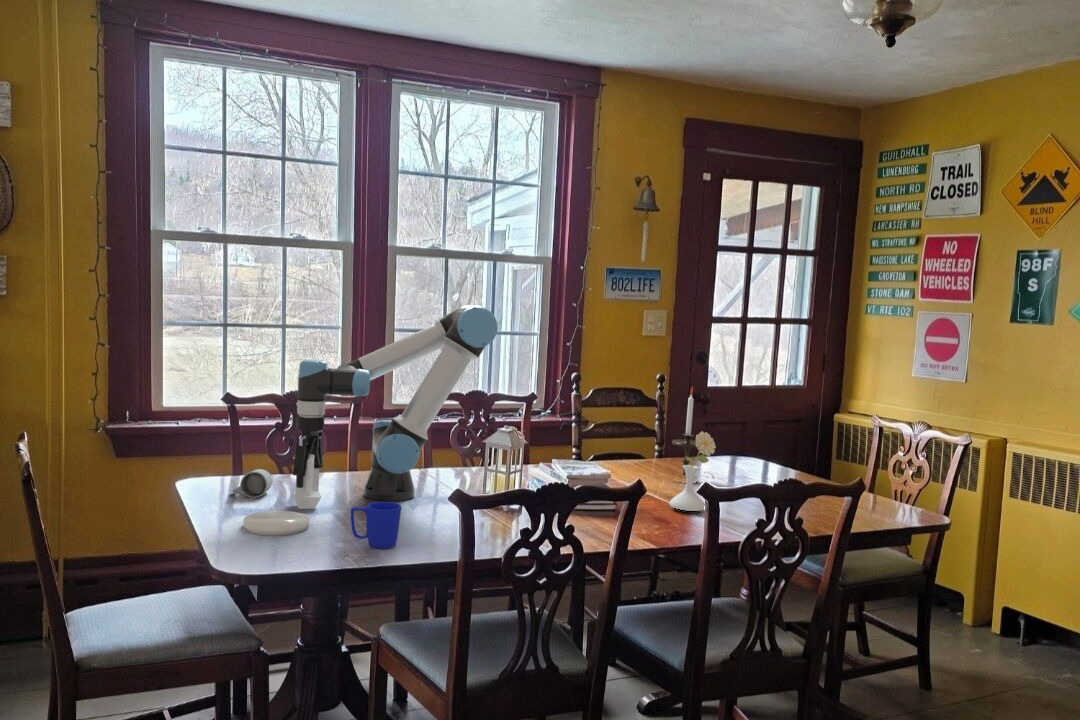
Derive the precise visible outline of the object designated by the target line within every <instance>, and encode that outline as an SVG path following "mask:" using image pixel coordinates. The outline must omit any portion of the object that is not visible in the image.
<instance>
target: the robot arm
mask: <svg viewBox="0 0 1080 720" xmlns="http://www.w3.org/2000/svg"><path fill="white" fill-rule="evenodd" d="M497 334H498V321H497V319H496V316H495V314H493V311H490V309H488V308H486V307H484V306H482V305H479V304H478V305H477V304H476V305H475V304H466V305H461V306H459V307H458V308H456V309H454V310H453V311H450V313H447V314H446V315H444V316H442V317H440V318H437V319H436V321H435V322H434V324H432V325H430V326H428V327H426V328H424V329H422V330H419V331H417V332H414V333H412V334H410V335H408V336H406V337H403V338H401V339H399V340H397V341H394V342H392V343H390V344H388V345H386V346H383V347H381V348H377V349H376V350H374V351H373V352H370V353H367V354H365V355H364V356H361V357H359V358H357V359H355V360H352V361H349V362H347V363H341V364H340V365H338V366H337V368H333V367H331V368H330V367H329V366H328V363H327V361H325V360H321V359H304V360H301V361H300V363H299V367H298V377H297V378H298V379H297V380H298V381H297V402H296V403H295V405H296V407H297V408H296V411H297V412H296V413H297V414H298V415H297V416H296V423H295V425H296V426H295V428H296V430H299V431H301V436H300V437H297V438H296V446H295V455H294V462H293V469H292V476H295V490H294V491H295V498H294V500H295V499H306V481H307V475H305V474H306V469H307V460H308V459H309V455H310V454H312V455H315V457H314V474H313V480H312V491H319V489H320V488H319V487H320V484H319V483H320V470H321V469H323V468H324V464H323V463H324V462H323V461H324V460H323V458H324V456H323V430H324V429H325V416H324V415H325V414H326V396H327V395H328V396H332V395H333V396H349V397H350V396H351V397H352V396H353V397H366V396H368V395H369V393H370V389H371V387H370V386H371V381H373V380H375V379H377V378H379V377H381V376H384V375H386V374H388V373H390V372H392V371H395V370H396V369H397V370H398V369H399V368H402V367H403V366H406V365H408V364H410V363H413V362H415V361H417V360H419V359H421V358H424V357H426V356H428V355H430V354H432V353H435V352H438V351H440V350H441V349H442V350H441V351H440V353H439V354H438V356H437V357H436V359H435V361H434V362H433V364H432V365H431V367H430V369H429V370H428V372H427V374H426V375H425V377H424V378H423V380H422V382H421V383H420V384H419V386H418V388H417V389H416V391H415V393H414V394H413V396H412V397H411V399H410V400H409V402H408V404H407V406H406V407H405V409H404V410H403V412H402V414H401V415H399V416H395V417H393V418H392V420H384V419H382V420H376V421H374V422H373V426H372V446H371V447H372V448H371V451H372V452H371V467H370V468H371V469H370V471H369V475H368V477H367V480H366V482H365V486H364V489H363V496H364V497H366V498H367V499H371V500H375V501H381V502H399V501H407V500H411V499H413V498H414V497H415V493H416V492H415V485H414V483H413V477H412V474H411V470H412V469H413V468H414V467H415V466H416V465H417V463H418V461H419V459H420V455H421V453H420V452H421V451H422V449H423V448H424V446H425V444H426V443H427V441H428V439H429V437H428V430H429V428H430V426H431V425H432V423H433V422H434V420H435V418H436V416H437V415H438V414H439V412H440V410H441V408H442V407H443V406H444V404H445V402H446V400H447V399H448V397H449V396H450V394H451V392H452V391H453V389H454V387H455V386H456V385H457V383H458V382H459V380H460V378H461V376H462V374H463V373H464V372H465V370H466V368H467V367H468V365H469V364H470V362H471V361H474V360H478V359H479V357H480V356H481V354H482V353H483V351H484V350H485V348H486V347H487V346H489V345H490V344H491V343H492V342H493V341H494V340H495V338H496V336H497ZM412 497H413V498H412ZM410 498H411V499H410ZM406 499H407V500H406Z"/></svg>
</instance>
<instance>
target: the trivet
mask: <svg viewBox="0 0 1080 720" xmlns="http://www.w3.org/2000/svg"><path fill="white" fill-rule="evenodd" d="M309 527H310V517H309V516H308V515H306V514H304V513H301V512H298V511H297V512H296V511H290V510H289V511H288V510H267V511H260V512H256V513H255V512H254V513H251V514H249V515H246V516H245V517H244V518H243V525H242V528H243V530H244V531H245V532H247V533H250V534H254V535H259V536H265V537H267V536H271V537H272V536H273V537H276V536H277V537H278V536H290V535H295V534H300V533H302V532H305V531H307V530H308V529H309Z"/></svg>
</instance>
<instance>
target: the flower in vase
mask: <svg viewBox="0 0 1080 720" xmlns="http://www.w3.org/2000/svg"><path fill="white" fill-rule="evenodd" d="M694 441H695V442H696V447H697V450H698V452H697V456H696V458H695V459H694V458H690V457H689V456H688V457H687V456H686V460H687V461H690V462H689V463H692V465H691V464H690V465H689V464H688V465H684V464H683V465H682V467H683V468H682V469H684V470H685V473H686V484H685V486H684V489H683V490H682V491H681V492H679V494H677V495H675V496H674V497H673V498H671V500H670V501H669V502H668V504H669V506H670V507H671V508H673V509H674V508H676V509H675V510H677V509H680V510H686V511H700V510H701V511H700V512H703V511H705V510H704V506H705V504H706V503H705V502H704V500H703V499H701V497H700V496H699V495H698V494H697V493H696V492H695V491H694V484H693V480H694V478H695V475H696V473H697V471H698V470H699V469H700V467H699V466H697V465H695V463H696V461H697V460H698V461H699V462H700V463H702V464H706V463H708V462H709V461H710V460H709V458H708V457H711V455H713V454H714V453H715V452H716V451H715V449H716V448H717V446H716V443H715V441H714V438H713V437H711V434H710V433H708V432H707V431H705V432H704V431H703V430H701V432H699V434H698V433H697V434H696V436H695V440H694ZM700 454H701V455H700ZM680 510H679V511H680ZM702 510H703V511H702Z"/></svg>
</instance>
